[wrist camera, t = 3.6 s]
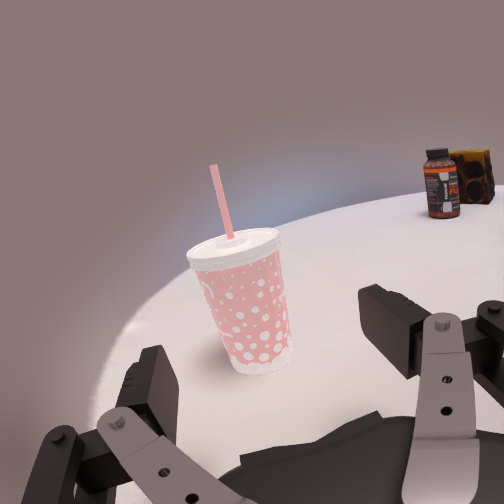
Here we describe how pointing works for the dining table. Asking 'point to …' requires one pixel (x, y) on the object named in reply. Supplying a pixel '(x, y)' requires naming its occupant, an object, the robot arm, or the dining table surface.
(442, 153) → the supplement bottle
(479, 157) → the yellow tissue box cover
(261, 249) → the beverage cup
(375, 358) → the dining table surface
